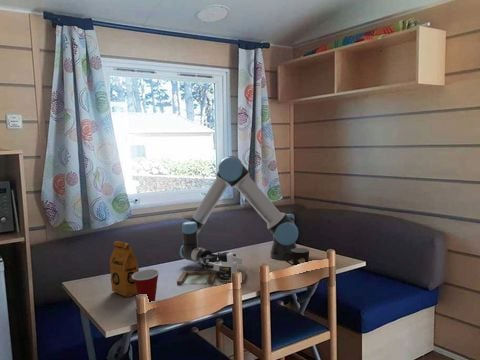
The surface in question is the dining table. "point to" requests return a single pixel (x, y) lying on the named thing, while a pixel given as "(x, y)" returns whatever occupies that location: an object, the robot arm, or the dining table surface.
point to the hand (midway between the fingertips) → (230, 264)
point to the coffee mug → (298, 255)
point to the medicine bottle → (226, 267)
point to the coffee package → (123, 269)
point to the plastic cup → (146, 282)
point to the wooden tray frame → (201, 277)
